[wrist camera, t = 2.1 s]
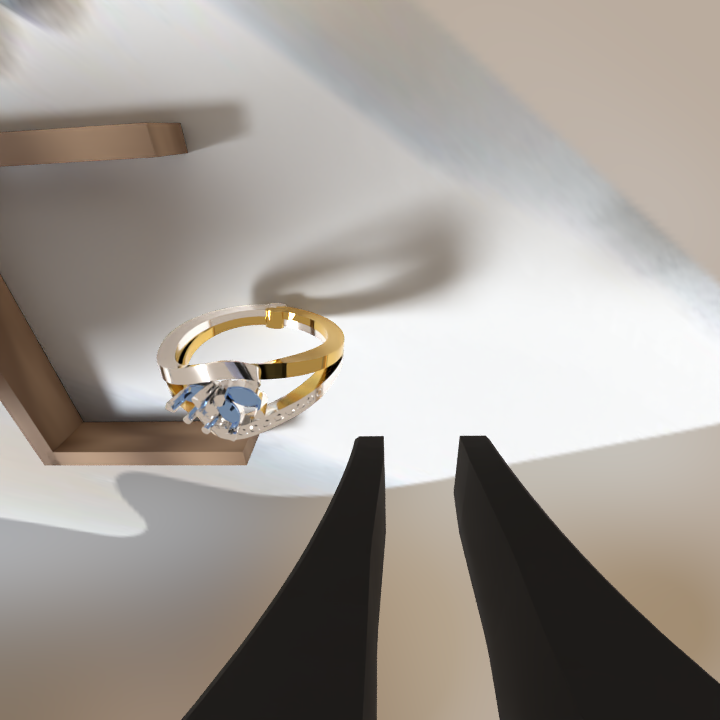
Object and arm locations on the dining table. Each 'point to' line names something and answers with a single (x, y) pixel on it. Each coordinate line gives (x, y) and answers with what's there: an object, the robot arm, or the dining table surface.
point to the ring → (247, 371)
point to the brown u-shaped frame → (32, 368)
